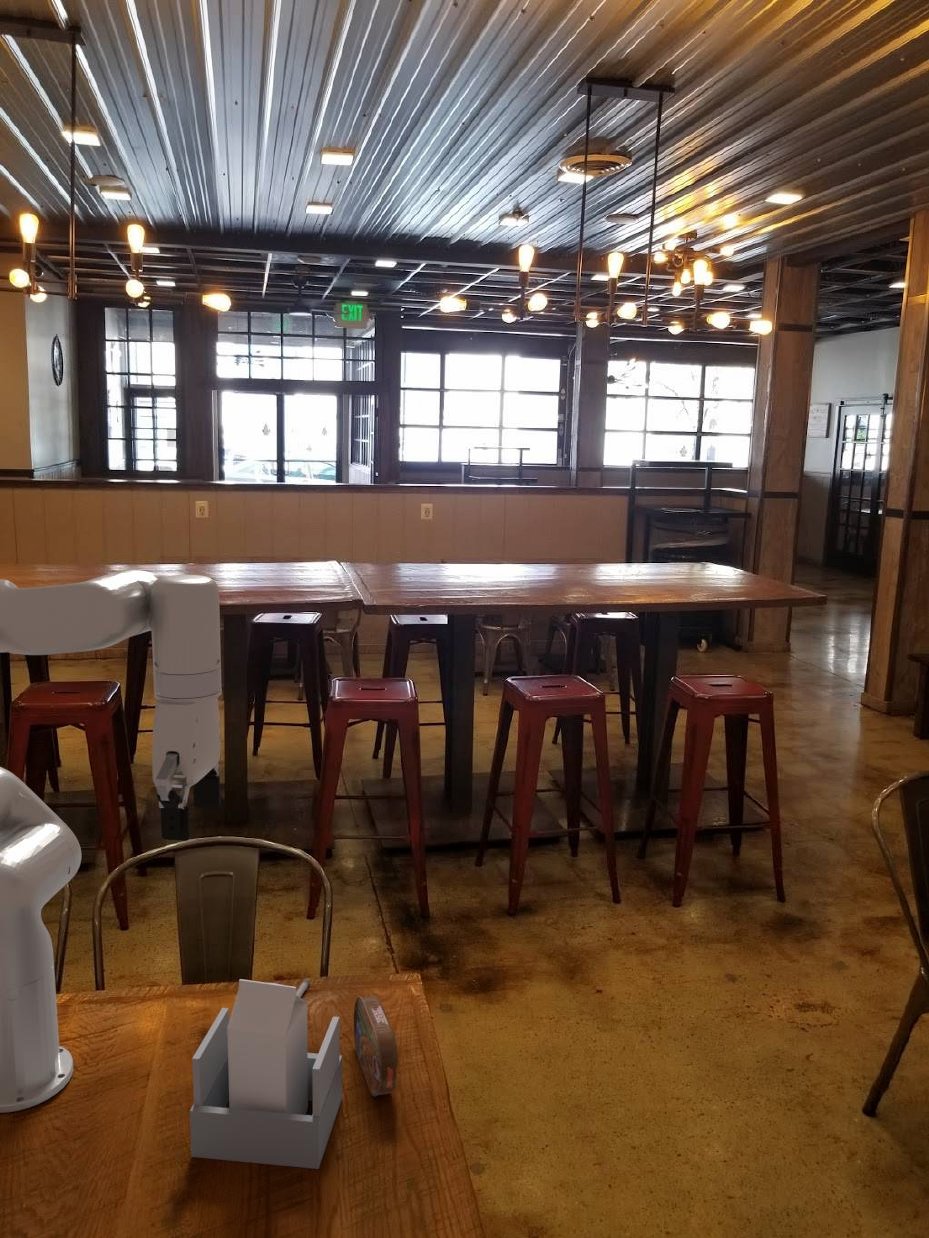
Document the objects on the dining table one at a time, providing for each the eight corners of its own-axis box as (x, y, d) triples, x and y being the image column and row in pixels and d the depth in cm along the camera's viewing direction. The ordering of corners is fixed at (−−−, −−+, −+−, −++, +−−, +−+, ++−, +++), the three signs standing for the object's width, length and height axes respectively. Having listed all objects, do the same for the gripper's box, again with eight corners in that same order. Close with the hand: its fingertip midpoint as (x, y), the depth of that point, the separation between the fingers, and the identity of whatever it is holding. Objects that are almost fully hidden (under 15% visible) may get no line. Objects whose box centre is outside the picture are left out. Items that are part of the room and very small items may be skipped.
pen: (311, 984, 147) (311, 976, 146) (277, 1039, 133) (277, 1030, 133) (305, 983, 147) (305, 975, 147) (270, 1038, 133) (270, 1029, 133)
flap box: (191, 1156, 111) (188, 1063, 109) (226, 1087, 123) (224, 1002, 120) (318, 1168, 110) (318, 1075, 107) (342, 1098, 121) (341, 1012, 119)
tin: (351, 1039, 133) (351, 984, 132) (373, 1035, 134) (374, 980, 133) (376, 1111, 119) (376, 1051, 118) (400, 1106, 120) (401, 1046, 119)
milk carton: (286, 1152, 112) (284, 1004, 108) (229, 1142, 113) (225, 996, 110) (308, 1111, 119) (307, 971, 115) (254, 1102, 120) (251, 963, 117)
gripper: (185, 664, 120) (189, 794, 123) (123, 701, 103) (130, 851, 106) (243, 666, 119) (246, 797, 122) (191, 704, 102) (195, 855, 105)
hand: (192, 822), depth 114 cm, fingers open, 9 cm apart
